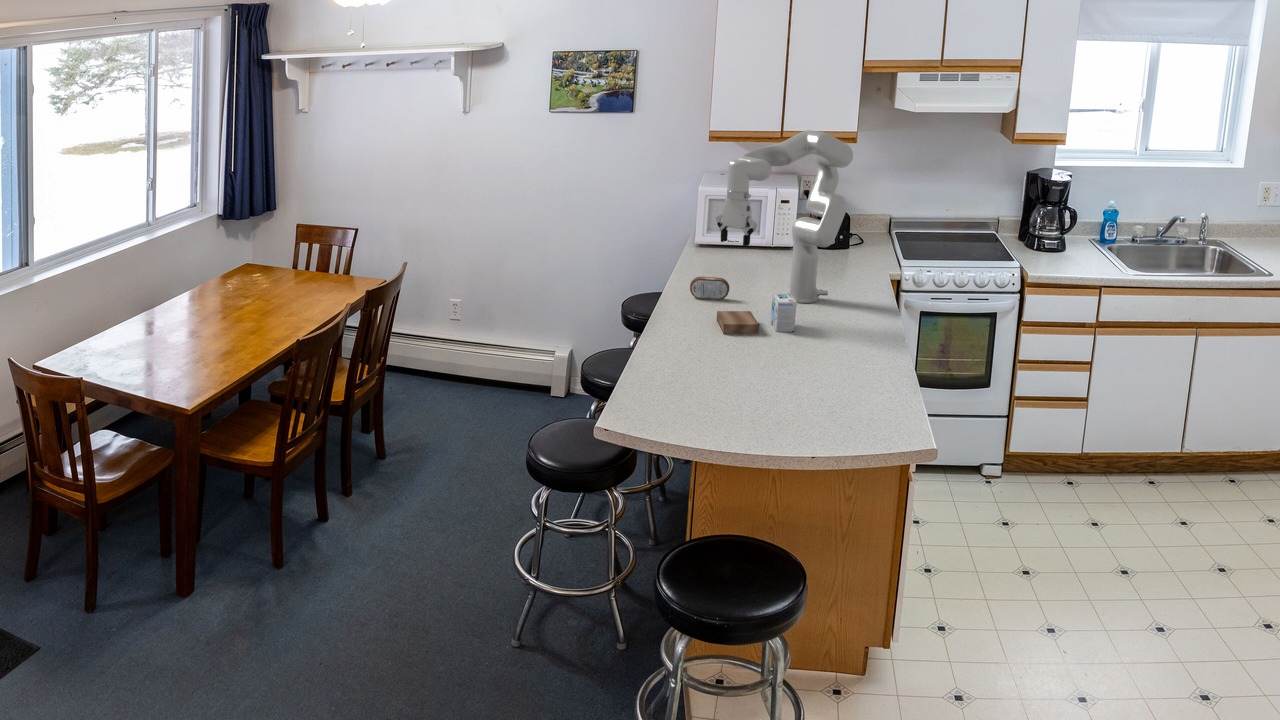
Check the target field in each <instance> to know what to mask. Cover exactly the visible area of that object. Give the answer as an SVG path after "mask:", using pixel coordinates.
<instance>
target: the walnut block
mask: <svg viewBox="0 0 1280 720" xmlns="http://www.w3.org/2000/svg"><path fill="white" fill-rule="evenodd" d="M717 322H718V323H717ZM716 323H717V325H718V324H719V325H718V326H720V327H719V328H721V329H720V330H722V331H721V333H722V332H723V333H722V335H759V329H760V328H759V326H760V324H759V322H758V320H757V319H756V318H755V316H754V314H753V312H752V311H751V310H740V311H739V310H717V311H716Z"/></svg>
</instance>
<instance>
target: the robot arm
mask: <svg viewBox="0 0 1280 720" xmlns="http://www.w3.org/2000/svg"><path fill="white" fill-rule="evenodd" d="M810 155H812V159H813V162H814V164H815V167H816V177H815V180H814V183H813V186H812V187H811V189H810V190H811V191H810V193H809V196H807V197H808V198H807V201H806V206H805V209H806V211H807V213H809V214H811V215H813V216H816V217H820V218H821V219H818V218H814V217H809V216H802V217H799V218H797V219H796V220H795V221H794V223H793V225H792V228H791V234H792V235H791V237H792V244H793V245H792V247H793V248H792V250H793V251H792V261H791V275H790V276H791V277H790V291H789V292H788V293H787V294H791V296H792V297H793V298H794V299H795V301H796V302H797V304H813V303H817V302H818V301H820V296H828V295H829V292H828V290H826V289H825V290H824V289H818V288H817V276H818V275H817V274H818V265H819V264H818V263H819V250H818V249H819V248H827V247H829V246H831V245H833V242H834V241H835V239H836V237H837V235H838V232H839V231H840V228H841V226H842V223H843V220H844V218H845V216H846V212H847V202H846V198H845V197H844V196H843V195H842V194H839V193H836V191H837V188H838V185H839V181H840V175H839V171H838V168H839V169H840V168H841V169H843V168H846V167H848V166H849V165H851V163H852V161H853V160H854V151H853V149H852V148H851V146H849V145H848V144H847V143H845V142H844V141H842V140H840V139H838V138H837V137H834V135H831V134H830V133H827V132H824V131H816V130H811V129H810V130H809V129H808V130H803V131H801V132H799V133H797V134H795V135H793V136H791V137H790V138H787V139H785V140H783V141H781V142H779V143H774V144H771V145H767V146H764V147H759V148H755V149H753V150H751V151H748V152H747V153H744V154H743V155H741V156H740V157H738V159H732V160H730V161H729V162H728V168H727V170H728V171H727V188H726V189H727V191H726V198H725V200H724V202H723V203H724V204H723V208H722V214H720V215H717V216H716V217H715V221H716V223H717V224H716V225H717V227H718V228H719V231H720V242H721V243H724V242H727V241H728V235H729V234H728V233H729V231H728V228H733V229H739V230H742V231H743V236H742V237H743V238H742V246H743V247H748V246H750V244H751V235H753V233H754V232H755V231H756V229H757V227H758V222H756V221H755V220H753V219H752V217H753V216H752V205H751V200H749V199H751V197H752V195H751V193H750V192H749V190H750V188H749V187H750V181H756V182H763V181H765V180H767V179H769V178H770V177H771V175H772V172H773V171H772V170H773V167H784V166H790V165H792V164H794V163H796V162H797V161H800V160H802V159H803V158H805V157H808V156H810ZM818 247H819V248H818Z"/></svg>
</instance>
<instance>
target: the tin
mask: <svg viewBox="0 0 1280 720" xmlns="http://www.w3.org/2000/svg"><path fill="white" fill-rule="evenodd" d="M689 291H690V294H691V296H693V297H694V298H696V299H699V300H711V299H714V300H713V301H721V300H724V299H725V298H727V296H728V295H729V292H730V284H729V282H728V281H727V280H726V278H725V279H724V278H722V277H716V276H697V277H695V278H693V279H692V280H691V281H690V284H689Z"/></svg>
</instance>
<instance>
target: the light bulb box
mask: <svg viewBox="0 0 1280 720" xmlns="http://www.w3.org/2000/svg"><path fill="white" fill-rule="evenodd" d="M771 297H772V299H771V313H770V322H769V323H770V324H771V327H772V328H773V329H774V331H775V332H776V333H793V332H792V331H794V332H795V327H796V325H795V324H796V313H797V305H798V303H797V302H796V301H795V299H794V298H793V297H792V296H791V294H788V293H787V294H785V293H784V294H781V293H780V294H777V293H775V294H773V293H772V296H771Z"/></svg>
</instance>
